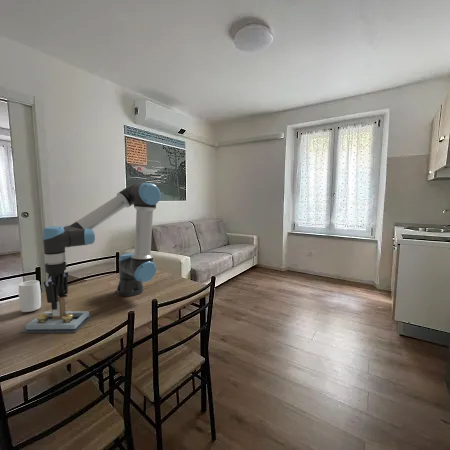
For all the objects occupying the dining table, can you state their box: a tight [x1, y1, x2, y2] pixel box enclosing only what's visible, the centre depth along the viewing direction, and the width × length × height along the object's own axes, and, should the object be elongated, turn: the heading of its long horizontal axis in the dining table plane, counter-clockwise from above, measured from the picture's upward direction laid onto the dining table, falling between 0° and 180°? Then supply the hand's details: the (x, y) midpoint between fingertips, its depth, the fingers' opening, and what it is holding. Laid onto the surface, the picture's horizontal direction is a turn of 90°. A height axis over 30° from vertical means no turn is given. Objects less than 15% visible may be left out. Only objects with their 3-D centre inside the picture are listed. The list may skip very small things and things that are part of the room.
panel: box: [25, 297, 90, 330], centre depth 109 cm, size 12×20×11 cm, turn 93°
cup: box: [18, 279, 42, 313], centre depth 120 cm, size 8×8×14 cm
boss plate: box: [20, 312, 93, 334], centre depth 109 cm, size 22×14×5 cm, turn 92°
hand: (59, 313), depth 109 cm, fingers closed on panel, 3 cm apart
